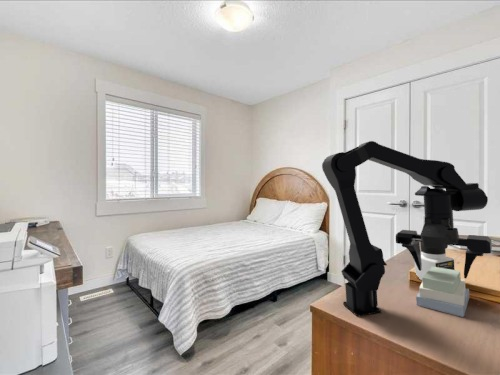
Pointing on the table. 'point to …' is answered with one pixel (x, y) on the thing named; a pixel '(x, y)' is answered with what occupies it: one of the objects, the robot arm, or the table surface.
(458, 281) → the pale green stepped block
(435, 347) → the table surface
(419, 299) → the grey stepped block
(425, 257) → the medicine bottle
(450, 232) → the robot arm
